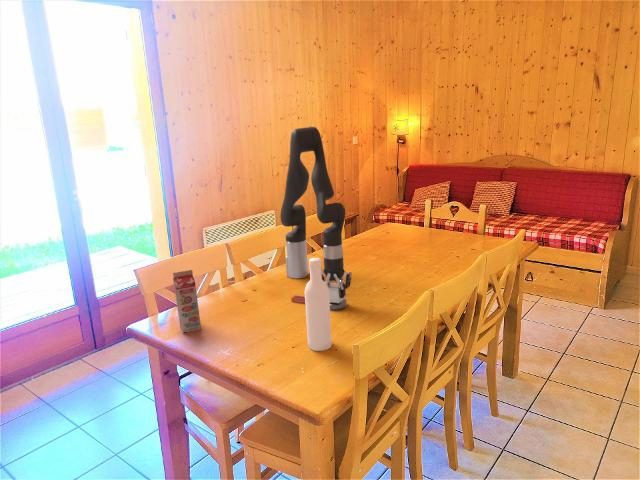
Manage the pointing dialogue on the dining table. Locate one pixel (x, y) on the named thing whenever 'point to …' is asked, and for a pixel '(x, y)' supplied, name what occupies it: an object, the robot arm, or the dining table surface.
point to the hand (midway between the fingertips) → (335, 296)
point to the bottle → (317, 309)
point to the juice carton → (187, 301)
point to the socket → (334, 292)
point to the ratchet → (333, 305)
